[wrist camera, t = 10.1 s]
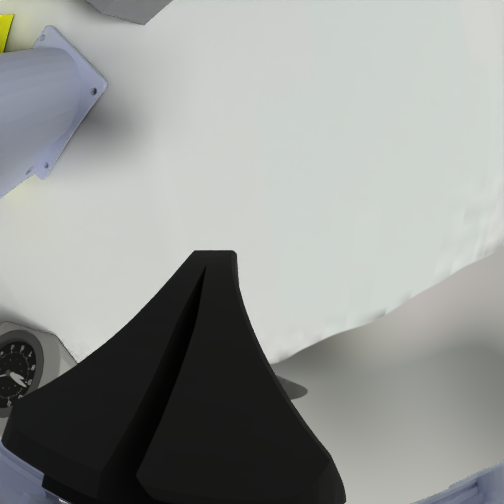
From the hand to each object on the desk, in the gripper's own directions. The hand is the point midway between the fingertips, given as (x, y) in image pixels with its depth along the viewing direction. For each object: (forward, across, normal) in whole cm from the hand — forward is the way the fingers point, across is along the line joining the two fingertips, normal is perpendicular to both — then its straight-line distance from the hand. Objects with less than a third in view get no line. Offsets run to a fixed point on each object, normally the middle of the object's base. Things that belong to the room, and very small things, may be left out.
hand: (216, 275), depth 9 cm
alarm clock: (+10, +33, +24) cm, 42 cm away
